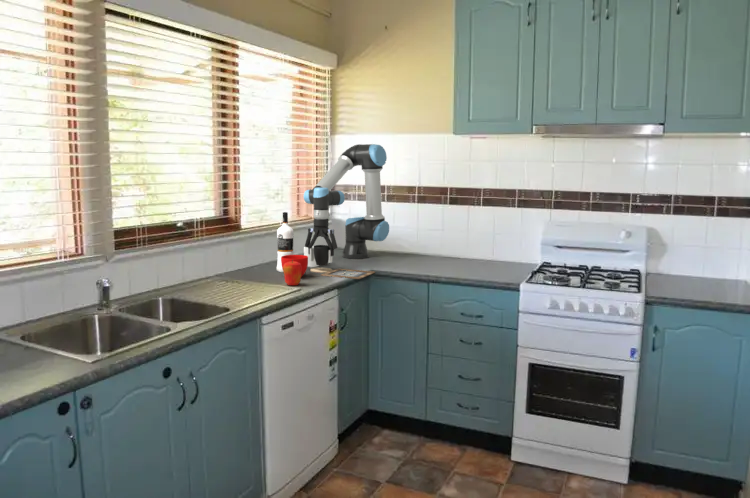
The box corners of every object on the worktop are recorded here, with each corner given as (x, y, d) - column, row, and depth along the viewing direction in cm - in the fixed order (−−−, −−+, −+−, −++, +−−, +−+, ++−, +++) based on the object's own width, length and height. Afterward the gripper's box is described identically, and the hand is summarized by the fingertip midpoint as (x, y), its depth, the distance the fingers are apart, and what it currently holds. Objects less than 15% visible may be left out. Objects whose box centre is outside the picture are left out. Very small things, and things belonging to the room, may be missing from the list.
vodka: (298, 271, 318) (298, 212, 314) (284, 273, 311) (284, 213, 307) (286, 268, 324) (286, 211, 320) (272, 271, 317) (271, 212, 313)
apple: (280, 284, 285) (279, 258, 283) (296, 282, 290) (296, 257, 288) (288, 287, 278) (288, 261, 276) (305, 285, 283) (305, 259, 281)
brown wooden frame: (338, 269, 324) (338, 268, 324) (375, 272, 316) (375, 271, 316) (320, 275, 307) (320, 274, 307) (359, 279, 299) (359, 278, 298)
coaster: (317, 268, 327) (316, 266, 327) (335, 269, 322) (335, 268, 322) (306, 271, 317) (306, 270, 317) (325, 273, 312) (325, 272, 312)
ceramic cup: (313, 273, 311) (313, 254, 310) (304, 280, 294) (303, 259, 293) (288, 272, 313) (288, 253, 312) (277, 279, 297) (277, 258, 295)
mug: (322, 261, 327) (322, 243, 325) (332, 265, 316) (332, 246, 315) (308, 262, 322) (308, 244, 321) (317, 266, 312) (317, 247, 311)
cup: (301, 265, 334) (300, 246, 333) (319, 263, 342) (319, 244, 340) (309, 267, 328) (309, 248, 326) (328, 265, 335) (328, 246, 334)
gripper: (297, 217, 317) (298, 261, 320) (337, 220, 308) (337, 264, 311) (305, 216, 324) (305, 258, 327) (344, 218, 315) (344, 262, 318)
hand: (321, 261), depth 319 cm, fingers closed on mug, 10 cm apart
